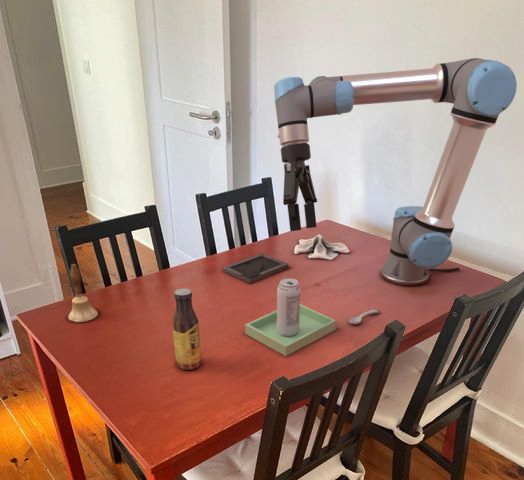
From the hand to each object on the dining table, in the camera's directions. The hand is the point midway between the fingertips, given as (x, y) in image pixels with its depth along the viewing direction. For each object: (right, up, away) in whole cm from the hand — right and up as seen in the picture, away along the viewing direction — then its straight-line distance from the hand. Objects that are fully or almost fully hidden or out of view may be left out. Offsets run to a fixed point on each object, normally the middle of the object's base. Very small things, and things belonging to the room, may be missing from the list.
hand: (304, 229), depth 141 cm
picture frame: (-13, -5, +41) cm, 43 cm away
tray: (-3, -27, +5) cm, 28 cm away
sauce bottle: (-29, -36, -8) cm, 47 cm away
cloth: (+9, +5, +56) cm, 57 cm away
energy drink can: (-4, -27, +4) cm, 28 cm away
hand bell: (-63, -22, +14) cm, 68 cm away
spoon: (+18, -23, +11) cm, 31 cm away
